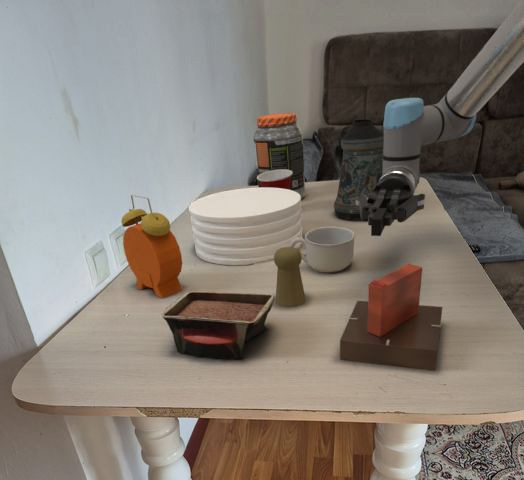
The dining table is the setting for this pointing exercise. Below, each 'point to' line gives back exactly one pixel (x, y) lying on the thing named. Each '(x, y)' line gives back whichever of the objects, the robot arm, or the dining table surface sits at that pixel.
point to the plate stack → (245, 224)
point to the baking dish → (217, 322)
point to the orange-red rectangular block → (393, 299)
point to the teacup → (327, 248)
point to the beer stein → (357, 166)
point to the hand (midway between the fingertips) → (376, 227)
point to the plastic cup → (276, 179)
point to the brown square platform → (393, 340)
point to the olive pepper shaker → (289, 277)
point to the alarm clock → (152, 251)
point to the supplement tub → (280, 148)
